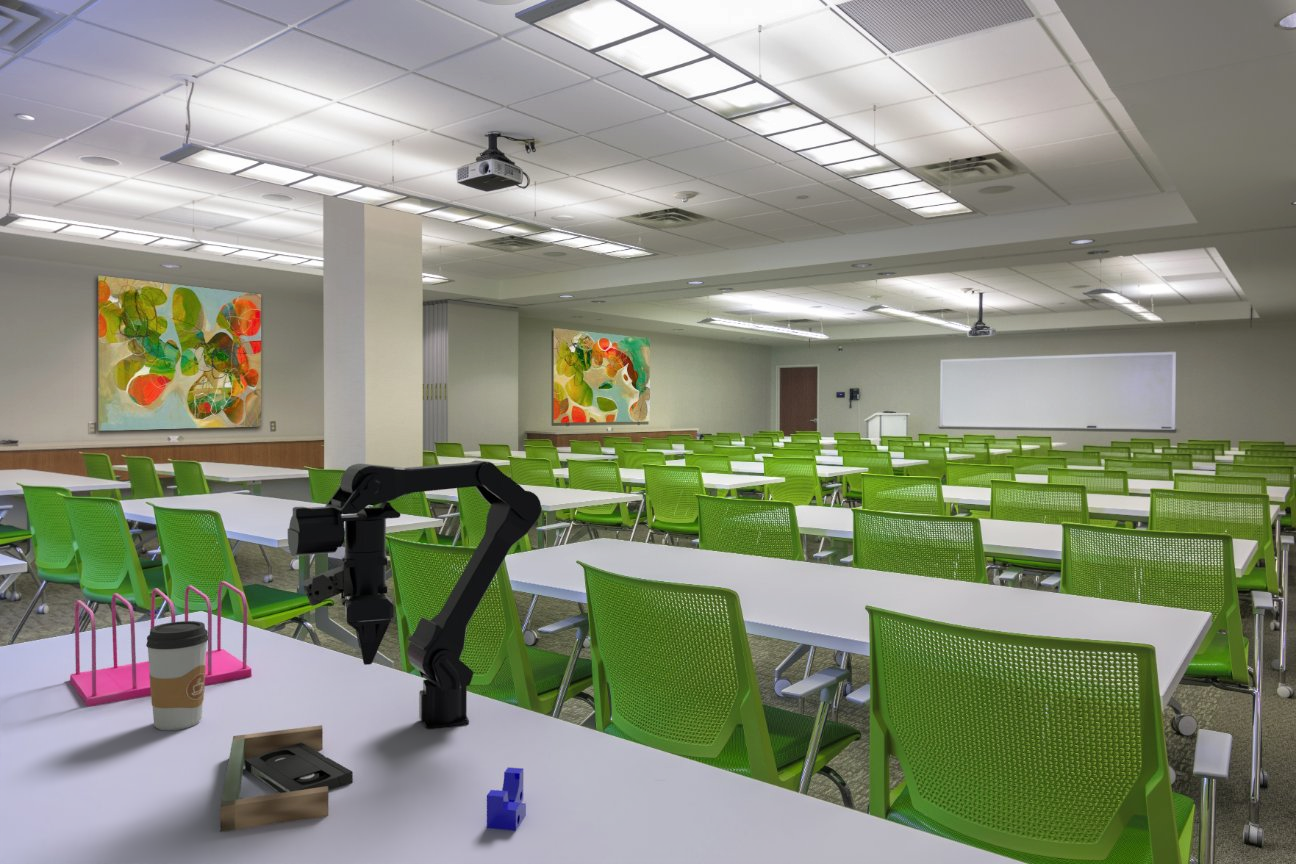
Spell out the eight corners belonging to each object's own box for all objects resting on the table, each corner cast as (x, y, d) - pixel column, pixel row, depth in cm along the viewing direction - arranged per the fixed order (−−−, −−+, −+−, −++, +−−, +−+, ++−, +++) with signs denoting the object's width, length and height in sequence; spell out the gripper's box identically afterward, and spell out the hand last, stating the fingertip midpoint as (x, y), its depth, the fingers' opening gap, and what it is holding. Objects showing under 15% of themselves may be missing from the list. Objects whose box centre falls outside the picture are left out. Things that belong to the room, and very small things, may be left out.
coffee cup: (182, 737, 126) (181, 635, 126) (133, 732, 128) (132, 632, 128) (221, 717, 135) (220, 621, 134) (174, 713, 136) (174, 618, 136)
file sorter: (252, 678, 155) (252, 591, 154) (87, 710, 138) (86, 612, 138) (223, 657, 168) (223, 576, 167) (69, 683, 151) (68, 594, 151)
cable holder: (515, 831, 99) (516, 797, 99) (486, 829, 100) (486, 795, 100) (535, 801, 107) (535, 769, 107) (507, 799, 108) (507, 767, 108)
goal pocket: (322, 745, 124) (322, 725, 124) (328, 816, 102) (328, 791, 102) (233, 757, 119) (233, 735, 119) (220, 833, 98) (220, 807, 98)
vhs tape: (243, 773, 115) (243, 758, 115) (301, 756, 121) (301, 742, 121) (292, 807, 106) (292, 791, 106) (352, 787, 112) (352, 771, 112)
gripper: (305, 543, 132) (305, 644, 133) (307, 563, 115) (307, 680, 115) (381, 539, 136) (381, 638, 137) (394, 559, 119) (393, 671, 120)
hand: (365, 655), depth 127 cm, fingers open, 9 cm apart
